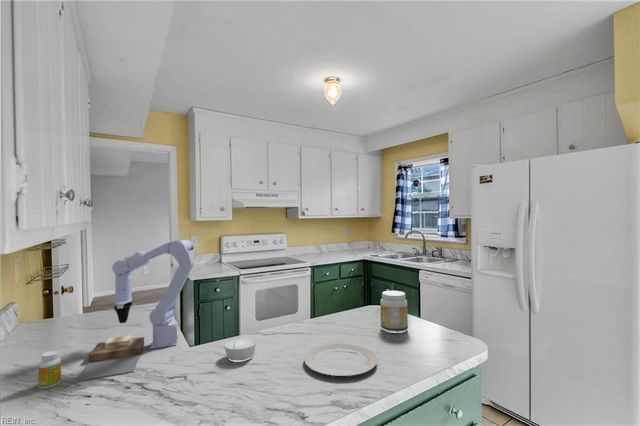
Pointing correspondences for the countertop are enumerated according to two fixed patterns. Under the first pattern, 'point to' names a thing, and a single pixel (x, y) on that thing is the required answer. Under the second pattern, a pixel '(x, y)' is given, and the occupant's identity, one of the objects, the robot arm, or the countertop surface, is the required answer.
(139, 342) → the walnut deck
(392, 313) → the supplement tub
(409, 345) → the countertop surface
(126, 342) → the birch tile
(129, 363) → the grey flat slab
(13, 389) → the countertop surface
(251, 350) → the ramekin
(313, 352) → the plate
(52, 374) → the supplement bottle
